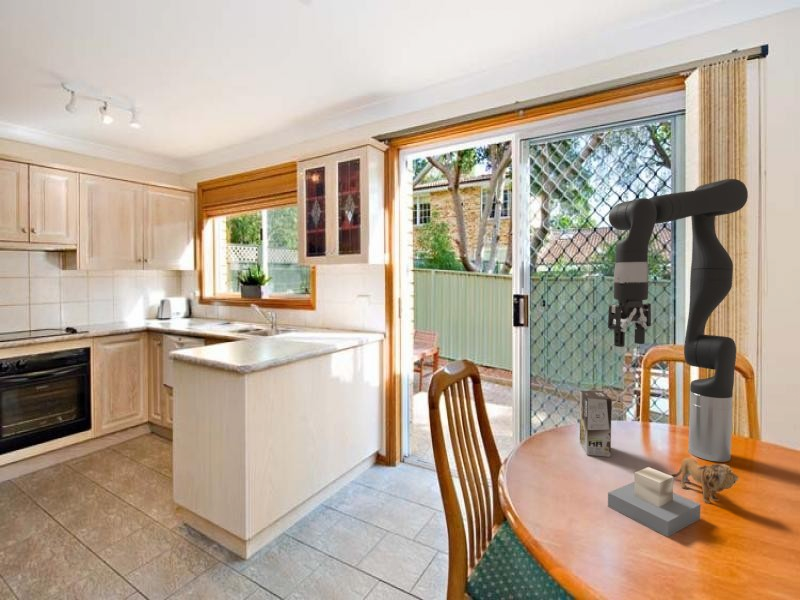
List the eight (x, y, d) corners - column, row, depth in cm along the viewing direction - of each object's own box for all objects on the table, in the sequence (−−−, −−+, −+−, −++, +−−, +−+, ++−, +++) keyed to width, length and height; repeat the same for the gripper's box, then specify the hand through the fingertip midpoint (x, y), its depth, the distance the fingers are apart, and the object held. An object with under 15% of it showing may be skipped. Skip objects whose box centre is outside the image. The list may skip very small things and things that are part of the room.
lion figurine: (742, 509, 85) (743, 467, 84) (722, 512, 84) (723, 470, 83) (679, 476, 99) (680, 440, 99) (661, 479, 98) (662, 442, 98)
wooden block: (647, 489, 87) (648, 467, 87) (672, 500, 83) (673, 476, 83) (634, 495, 85) (634, 472, 84) (659, 507, 80) (659, 482, 80)
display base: (640, 491, 92) (640, 479, 92) (700, 518, 81) (700, 504, 81) (607, 506, 86) (608, 492, 86) (667, 537, 76) (667, 521, 75)
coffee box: (611, 457, 110) (612, 399, 109) (586, 455, 111) (587, 398, 111) (602, 444, 119) (602, 390, 118) (578, 442, 120) (579, 389, 120)
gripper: (632, 280, 107) (631, 341, 108) (599, 281, 100) (598, 345, 101) (662, 280, 101) (661, 344, 102) (628, 280, 94) (627, 349, 95)
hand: (629, 345), depth 101 cm, fingers open, 8 cm apart
